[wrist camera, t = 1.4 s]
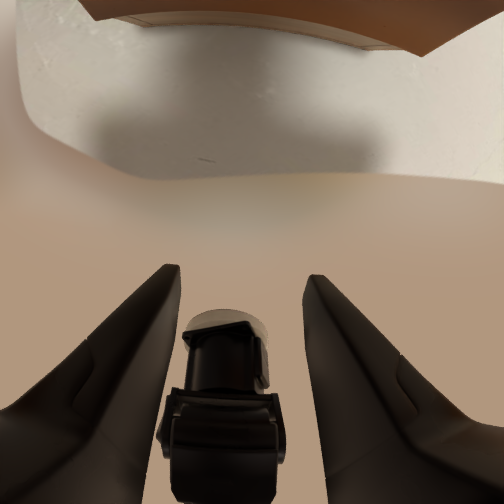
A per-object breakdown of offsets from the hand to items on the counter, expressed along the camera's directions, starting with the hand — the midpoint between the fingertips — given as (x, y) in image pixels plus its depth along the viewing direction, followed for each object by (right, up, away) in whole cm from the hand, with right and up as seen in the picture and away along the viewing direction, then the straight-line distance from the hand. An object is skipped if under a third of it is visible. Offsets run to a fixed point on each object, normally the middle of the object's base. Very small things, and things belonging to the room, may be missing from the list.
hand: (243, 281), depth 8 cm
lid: (+1, +9, -6) cm, 11 cm away
